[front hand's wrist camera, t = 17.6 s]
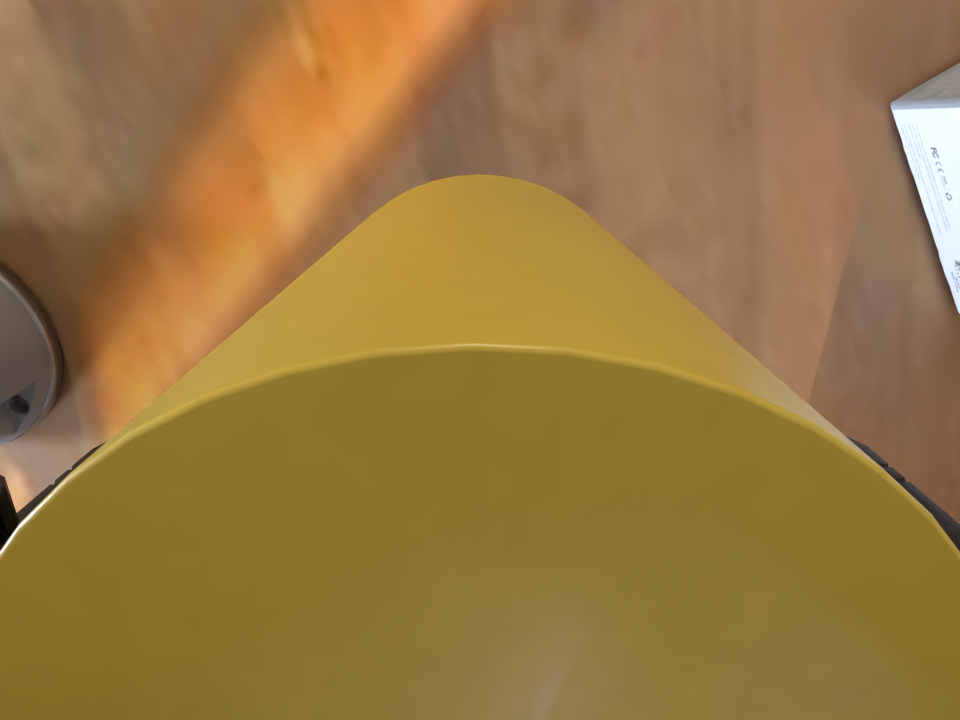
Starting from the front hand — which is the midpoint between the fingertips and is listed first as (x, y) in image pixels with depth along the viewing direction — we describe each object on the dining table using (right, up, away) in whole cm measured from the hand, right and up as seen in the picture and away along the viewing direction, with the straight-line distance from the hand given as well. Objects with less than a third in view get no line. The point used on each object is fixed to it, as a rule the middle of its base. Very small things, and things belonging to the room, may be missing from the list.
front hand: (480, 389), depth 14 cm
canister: (0, +1, +3) cm, 3 cm away
